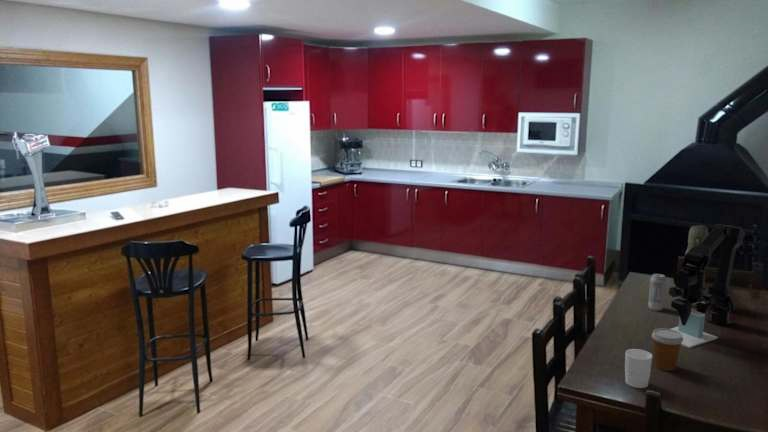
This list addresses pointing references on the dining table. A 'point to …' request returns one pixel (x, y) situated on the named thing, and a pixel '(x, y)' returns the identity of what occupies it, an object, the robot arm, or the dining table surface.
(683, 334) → the mat
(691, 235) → the thermos
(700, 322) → the slab
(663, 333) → the disposable coffee cup
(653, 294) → the energy drink can
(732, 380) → the dining table surface
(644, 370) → the white cup
